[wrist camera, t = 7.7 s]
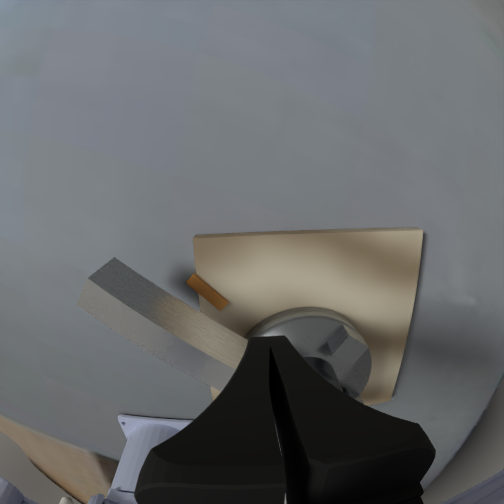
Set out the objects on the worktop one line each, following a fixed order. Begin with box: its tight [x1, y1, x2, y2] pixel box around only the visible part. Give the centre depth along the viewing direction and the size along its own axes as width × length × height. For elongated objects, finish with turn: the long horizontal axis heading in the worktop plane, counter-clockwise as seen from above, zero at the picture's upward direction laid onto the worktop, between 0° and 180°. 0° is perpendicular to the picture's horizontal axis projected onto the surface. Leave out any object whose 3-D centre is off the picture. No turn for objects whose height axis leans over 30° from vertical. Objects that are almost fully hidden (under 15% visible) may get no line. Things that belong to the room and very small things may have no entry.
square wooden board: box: [186, 228, 423, 406], centre depth 22 cm, size 16×17×1 cm
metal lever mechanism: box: [77, 257, 372, 436], centre depth 18 cm, size 20×10×6 cm, turn 56°
